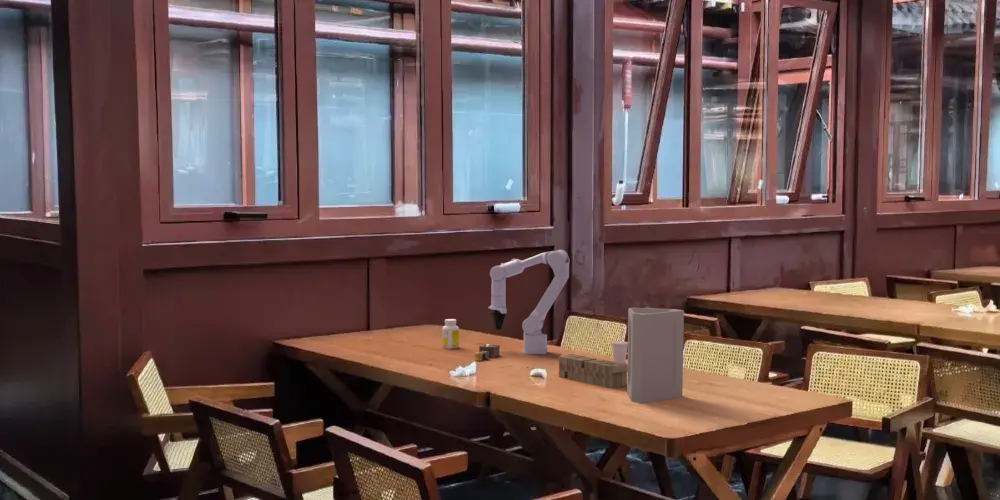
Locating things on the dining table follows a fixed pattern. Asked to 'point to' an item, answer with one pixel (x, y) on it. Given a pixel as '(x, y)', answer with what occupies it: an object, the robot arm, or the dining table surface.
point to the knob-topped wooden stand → (493, 351)
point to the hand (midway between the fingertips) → (498, 329)
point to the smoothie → (619, 350)
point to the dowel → (486, 355)
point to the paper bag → (655, 354)
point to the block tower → (593, 370)
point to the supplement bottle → (450, 334)
